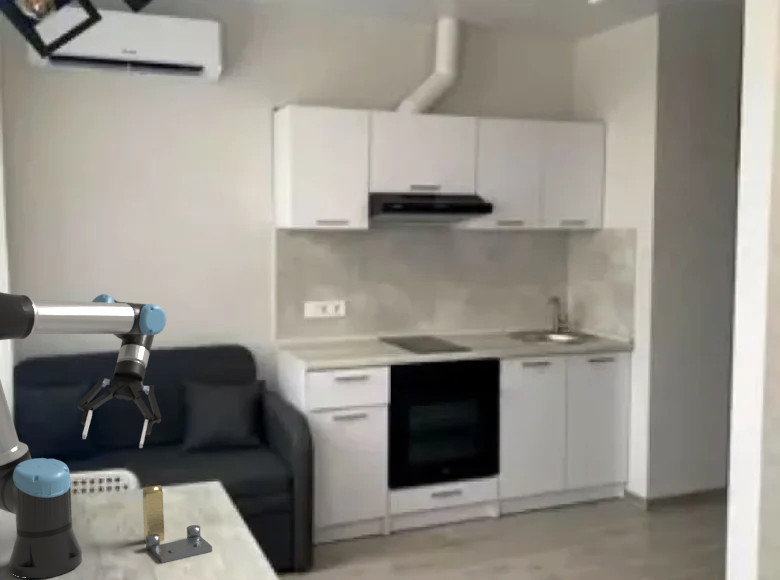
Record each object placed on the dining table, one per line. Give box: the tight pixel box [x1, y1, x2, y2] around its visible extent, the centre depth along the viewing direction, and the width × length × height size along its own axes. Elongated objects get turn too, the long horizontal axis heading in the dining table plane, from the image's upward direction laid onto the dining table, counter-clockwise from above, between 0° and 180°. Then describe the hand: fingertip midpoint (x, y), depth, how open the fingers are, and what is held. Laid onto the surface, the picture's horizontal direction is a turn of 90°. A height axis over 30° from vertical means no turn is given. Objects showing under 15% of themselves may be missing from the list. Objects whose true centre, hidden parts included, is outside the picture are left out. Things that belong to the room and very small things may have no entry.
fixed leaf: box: [145, 524, 213, 564], centre depth 200 cm, size 13×11×3 cm
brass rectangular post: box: [142, 484, 165, 542], centre depth 206 cm, size 4×3×13 cm
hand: (112, 441), depth 208 cm, fingers open, 13 cm apart
